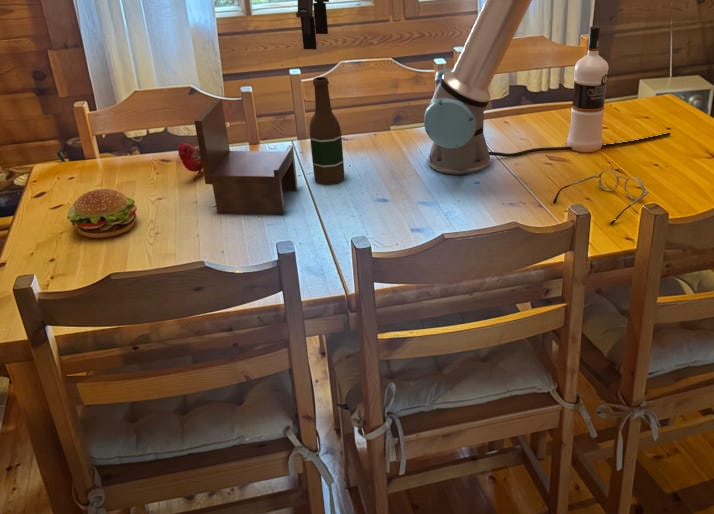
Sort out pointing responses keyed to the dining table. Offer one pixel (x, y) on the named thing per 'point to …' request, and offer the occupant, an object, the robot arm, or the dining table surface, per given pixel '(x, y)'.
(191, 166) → the decorative bird figurine
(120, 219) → the food
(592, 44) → the vodka
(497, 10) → the robot arm
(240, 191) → the shelf stand
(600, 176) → the eyeglasses
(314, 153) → the beer bottle
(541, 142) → the dining table surface
